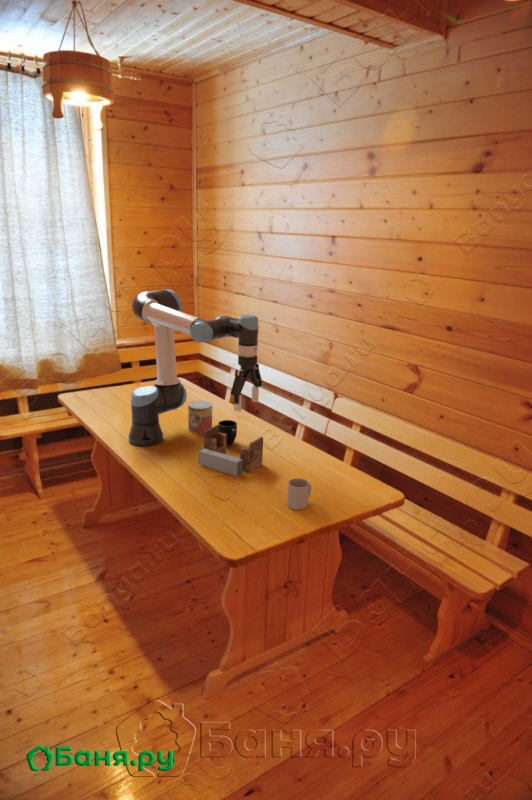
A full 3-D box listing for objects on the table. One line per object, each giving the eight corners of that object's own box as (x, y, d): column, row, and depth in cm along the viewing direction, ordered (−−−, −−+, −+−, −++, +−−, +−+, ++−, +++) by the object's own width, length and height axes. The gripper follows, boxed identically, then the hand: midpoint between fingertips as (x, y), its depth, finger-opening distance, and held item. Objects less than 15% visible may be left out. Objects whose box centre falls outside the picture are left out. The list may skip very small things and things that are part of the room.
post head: (204, 457, 238) (204, 431, 234) (216, 450, 246) (216, 424, 242) (213, 460, 236) (213, 434, 232) (226, 453, 243) (226, 427, 239)
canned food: (183, 430, 266) (183, 406, 263) (195, 422, 276) (195, 399, 273) (205, 434, 263) (205, 410, 259) (216, 426, 273) (216, 402, 269)
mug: (225, 451, 246) (225, 430, 242) (215, 441, 256) (215, 421, 253) (243, 448, 249) (243, 428, 246) (232, 438, 259) (232, 418, 256)
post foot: (239, 468, 230) (240, 441, 226) (251, 461, 237) (252, 434, 233) (250, 472, 227) (251, 444, 223) (262, 464, 235) (263, 437, 231)
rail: (198, 464, 232) (198, 450, 230) (203, 461, 235) (203, 448, 233) (237, 476, 223) (237, 462, 221) (242, 473, 226) (242, 459, 224)
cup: (282, 504, 204) (284, 482, 201) (302, 496, 210) (304, 474, 207) (296, 512, 198) (298, 489, 196) (317, 504, 205) (318, 481, 202)
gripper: (239, 363, 211) (237, 416, 218) (271, 350, 232) (269, 399, 239) (222, 360, 215) (221, 413, 221) (255, 347, 235) (254, 396, 242)
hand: (246, 406), depth 230 cm, fingers open, 13 cm apart
